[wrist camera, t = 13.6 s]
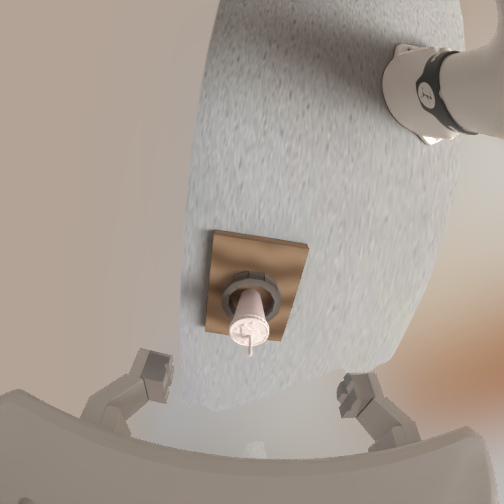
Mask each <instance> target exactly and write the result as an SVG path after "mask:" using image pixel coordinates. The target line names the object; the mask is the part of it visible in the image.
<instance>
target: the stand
mask: <svg viewBox="0 0 504 504" xmlns="http://www.w3.org/2000/svg"><path fill="white" fill-rule="evenodd" d="M308 251H309V248H308V245H307V244H303V243H297V242H291V241H285V240H279V239H272V238H266V237H260V236H253V235H247V234H240V233H234V232H227V231H221V230H215V233H214V238H213V247H212V257H211V266H210V277H209V288H208V299H207V311H206V324H205V332H212V333H218V334H225V335H229V325H230V323H231V321H232V320H233V318H234V315H235V312H236V309H237V306H238V302H239V299H240V296H241V293H242V292H243V291H244V290H246V289H254V290H256V291H258V292H259V294H260V296H261V301H262V306H263V310H264V315H265V319H266V322H267V323H268V325H269V336H268V338H267V339H266V340H272V341H281V339H282V336H283V333H284V330H285V327H286V324H287V321H288V318H289V315H290V311H291V308H292V305H293V302H294V299H295V295H296V292H297V289H298V285H299V282H300V279H301V275H302V272H303V269H304V265H305V262H306V258H307V255H308Z"/></svg>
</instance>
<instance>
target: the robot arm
mask: <svg viewBox="0 0 504 504" xmlns="http://www.w3.org/2000/svg"><path fill="white" fill-rule="evenodd" d="M496 3H497V10H498V27H497V31H496V34H495V36H494V38H493V39H492V41H491V42H490V43H489V44H487V45H486V46H483V47H480V48H477V49H473V50H469V51H465V52H458V51H452V50H451V49H450V48H440V51H438V48H437V47H430V49H429V48H428V47H418V46H413V45H408V44H398V45H397V46H396V49H395V53H394V58H393V59H392V61H391V62H390V63H389V64H388V66H387V67H386V69H385V72H384V75H383V81H382V86H383V94H384V98H385V101H386V104H387V106H388V108H389V110H390V112H391V113H392V115H393V116H394V117H395V119H396V120H397V121H398V122H399V123H400V124H401V125H403V126H404V127H405V128H407V129H409V130H411V131H413V132H415V133H416V134H417V135H418V136H419V137H420V138H421V139H422V141H423V142H424V143H426V144H427V145H433V144H435V143H437V142H439V141H441V140H443V139H448V140H451V139H453V138H454V137H455V136H457V135H459V134H460V133H461V134H466V135H476V134H479V133H480V134H484V135H489V136H493V137H497V138H501V139H504V0H496ZM408 50H409V51H408ZM172 362H173V356H171V355H167V354H163V353H159V352H155V351H151V350H147V349H143V348H140V350H139V351H138V353H137V356H136V358H135V361H134V363H133V365H132V368H131V370H130V372H129V375H128V374H125V375H123V376H122V377H120V378H119V379H117V380H116V381H114V382H112V383H111V384H109V385H108V386H106V387H104V388H103V389H101V390H100V391H98V392H96V393H95V394H93V395H92V396H90V397H89V399H88V401H87V403H86V406H85V408H84V410H83V413H82V415H81V417H80V418H77V417H75V416H72V415H70V414H68V413H66V412H64V411H61V410H59V409H57V408H55V407H53V406H51V405H49V404H47V403H45V402H44V401H42V400H40V399H38V398H36V397H34V396H32V395H31V394H29V393H27V392H25V391H24V390H21V389H16V390H13V391H10V392H8V393H5V394H3V395H1V396H0V504H499V501H498V491H497V484H496V478H495V473H494V469H493V465H492V461H491V457H490V454H489V450H488V447H487V444H486V442H485V440H484V438H483V437H482V436H481V435H480V434H479V433H477V432H476V431H475V430H474V429H472V428H471V427H469V426H464V427H461V428H459V429H456V430H453V431H450V432H447V433H445V434H442V435H438V436H436V437H432V438H429V439H426V440H422V441H421V438H420V435H419V433H418V429H417V427H416V424H415V422H414V421H413V420H412V419H411V418H410V417H409V416H407V415H406V414H405V413H404V412H403V411H402V410H401V409H399V408H398V407H397V406H396V405H395V404H394V403H393V402H391V401H390V400H389V399H388V398H387V397H384V395H383V392H382V389H381V386H380V384H379V381H378V378H377V375H376V374H375V373H347V374H346V375H345V376H344V381H343V382H341V383H340V384H339V386H338V388H337V400H338V401H339V402H340V403H341V405H340V407H339V409H340V413H341V418H353V417H354V418H355V417H357V418H356V419H357V420H358V421H359V422H360V423H361V425H362V426H363V427H364V428H365V429H366V431H367V432H368V433H369V434H370V436H371V437H372V438H373V439H374V440H375V443H374V444H373V445H371V446H370V447H369V449H368V451H369V452H368V453H362V454H356V455H348V456H339V457H328V458H314V459H254V458H240V457H229V456H220V455H212V454H205V453H198V452H192V451H186V450H181V449H176V448H172V447H167V446H163V445H159V444H155V443H151V442H147V441H143V440H140V439H136V438H133V437H130V436H131V432H130V430H129V428H128V426H127V424H126V420H127V419H128V418H130V417H131V416H132V415H133V414H134V413H135V412H137V411H138V410H139V409H140V408H141V407H142V406H143V405H145V404H146V403H147V402H148V400H151V401H156V402H160V403H165V404H166V402H167V399H168V395H169V386H170V385H171V384H172V379H173V373H174V367H173V365H172Z"/></svg>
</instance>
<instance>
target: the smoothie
mask: <svg viewBox="0 0 504 504" xmlns="http://www.w3.org/2000/svg"><path fill="white" fill-rule="evenodd" d="M229 335H230V337H231V338H232V340H233V341H234V342H236V343H238V344H240V345H243V346H249V350H248V356H249V357H252V346H256V345H259V344H261V343H263V342H264V341H266V339H267V338H268V336H269V325H268V323H267V322H266V319H265V315H264V310H263V306H262V301H261V296H260V294H259V292H258V291H256V290H254V289H246V290H244V291H243V292H242V293H241V296H240V299H239V302H238V306H237V309H236V312H235V315H234V318H233V320H232V321H231V323H230V325H229Z"/></svg>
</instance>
